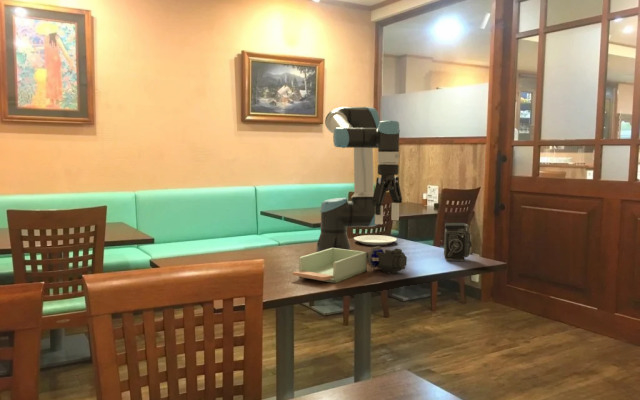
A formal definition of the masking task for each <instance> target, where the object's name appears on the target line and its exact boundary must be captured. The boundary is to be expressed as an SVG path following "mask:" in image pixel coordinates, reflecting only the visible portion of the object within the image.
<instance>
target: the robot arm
mask: <svg viewBox="0 0 640 400" xmlns="http://www.w3.org/2000/svg"><path fill="white" fill-rule="evenodd" d="M377 110H378V109H376V108H374V107H369V106H340V107H335V108H334V109H331V110H330V111H329V112H328V113H327V115H326V116H325V119H324V125H325V127H326V129H327V130H328V131H329V132H330V133H332V134H333V135H332V136H333V137H332V139H333V146H334V147H335V148H342V149H345V148H348V149H349V148H353V179H354V180H353V181H354V182H353V183H354V184H353V186H354V187H353V188H354V189H353V190H354V191H353V192H354V193H353V194H352V196H351V197H350V200H348V198H347V197H335V198H329V199H326V200H323V201H321V203H320V234H319V238H318V241H317V243H316V251H317V252H319V251H323V250H326V249H330V248H339V249H346V250H351V243H350V240H349V237H348V231H347V230H348V228H370V227H376V226H378V225H383V224H384V221H383V220H384V205H383V203H384V200H385V197H386V194H387V192H389V195H390V197H391V199H392V202H391V221H399V219H400V204H402V202H403V196H402V192H401V187H400V186H401V185H400V177H399V176H397V175H399V172H400V171H399V170H400V168H399V164H398V163H400V162H399V161H400V160H399V158H400V157H401V156H400V153H399V152H400V131H401V129H400V123H399V121H398V120H381V121H380V116H379V113H378V111H377ZM374 149H378V150H377V151H378V152H377V163H379V164H378V165H377V175H380V177H376V183H375V187H374Z"/></svg>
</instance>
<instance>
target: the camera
mask: <svg viewBox="0 0 640 400" xmlns="http://www.w3.org/2000/svg"><path fill="white" fill-rule="evenodd" d="M444 227H445V229H444V235H443V236H444V237H443V238H444V241H443V255H444V259H445V260H446V261H447V262H448V261H457V262H459V261H460V262H465V258H468V257H469V256H471V254H472V247H473V246H472V244H473V243H472V234H471V233H470V232H469V230H470V229H469V228H470V226H469V225H468V224H467V223H465V222H445V223H444Z"/></svg>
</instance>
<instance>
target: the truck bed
mask: <svg viewBox="0 0 640 400" xmlns="http://www.w3.org/2000/svg"><path fill="white" fill-rule="evenodd" d="M367 255H368V252H367V251H363V250H362V251H361V250H353V249H350V250H346V249H339V248H330V249H326V250H323V251H317V252H313V253H310V254H305V255H302V256H299V261H298V262H299V264H298V265H299V267H298V268H299V269H298V271H308V272H314V273H320V274H326V275H332V276H333V279H328V280H318V279H313V278H307V277H301V276H298V277H299V278H304V279H309V280H310V279H311V280H314V281H315V280H316V281H321V282H326V283H327V282H328V283H333V284H337V283H339V282H342V281H344V280H347V279H349V278H352V277H355V276H358V275H359V274H362V273H364V272H367V267H368V263H367V261H368V258H367Z"/></svg>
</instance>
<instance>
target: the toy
mask: <svg viewBox="0 0 640 400" xmlns="http://www.w3.org/2000/svg"><path fill="white" fill-rule="evenodd" d="M368 252H369V253H367V264H369V266H370V268H372V269H375V268H377V270H380V271H381V272H382V273H386V274H392V275H396V274H398V272H401V271H402V270H405V269H406V266H407V263H408V262H407V258H408V257H407V256H406V254H405V253H404V252H403V250H402V249H401V248H394V249H393V250H390V249H385V251H384V249H383V248H381V245H376V246H373V247H371V249H370V250H369V251H368Z"/></svg>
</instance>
